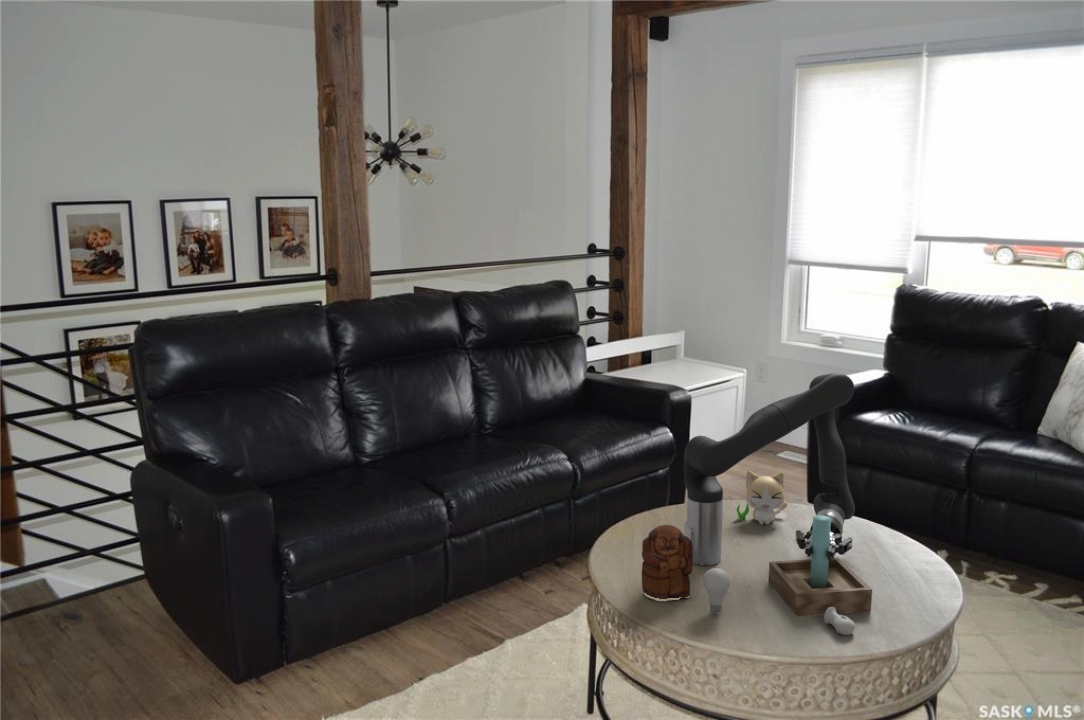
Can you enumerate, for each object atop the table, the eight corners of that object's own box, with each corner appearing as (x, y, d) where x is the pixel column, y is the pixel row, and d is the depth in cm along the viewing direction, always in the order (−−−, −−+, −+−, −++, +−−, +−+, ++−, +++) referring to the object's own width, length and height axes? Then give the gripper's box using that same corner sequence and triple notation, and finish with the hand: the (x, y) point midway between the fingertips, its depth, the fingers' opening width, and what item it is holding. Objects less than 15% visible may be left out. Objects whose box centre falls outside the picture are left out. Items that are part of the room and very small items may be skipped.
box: (796, 616, 205) (797, 594, 204) (768, 582, 222) (769, 561, 221) (870, 611, 207) (872, 589, 206) (837, 578, 224) (838, 557, 223)
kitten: (737, 525, 259) (738, 476, 256) (735, 513, 269) (737, 466, 266) (789, 528, 257) (792, 479, 254) (786, 515, 266) (788, 468, 263)
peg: (813, 596, 212) (817, 522, 208) (807, 589, 216) (810, 515, 212) (829, 595, 213) (833, 521, 209) (822, 588, 217) (826, 514, 213)
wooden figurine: (646, 604, 212) (647, 533, 208) (640, 592, 218) (640, 523, 214) (694, 600, 213) (696, 529, 210) (686, 588, 219) (688, 520, 216)
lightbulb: (730, 609, 209) (731, 565, 206) (727, 621, 203) (728, 576, 201) (704, 605, 211) (705, 562, 208) (700, 617, 205) (701, 572, 203)
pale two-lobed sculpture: (856, 641, 196) (837, 638, 194) (836, 623, 203) (818, 620, 202) (863, 624, 195) (844, 620, 194) (843, 606, 203) (824, 603, 201)
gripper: (798, 510, 227) (788, 535, 212) (857, 518, 221) (851, 543, 206) (797, 538, 229) (787, 564, 213) (855, 546, 223) (849, 573, 208)
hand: (819, 554), depth 210 cm, fingers closed on peg, 4 cm apart
